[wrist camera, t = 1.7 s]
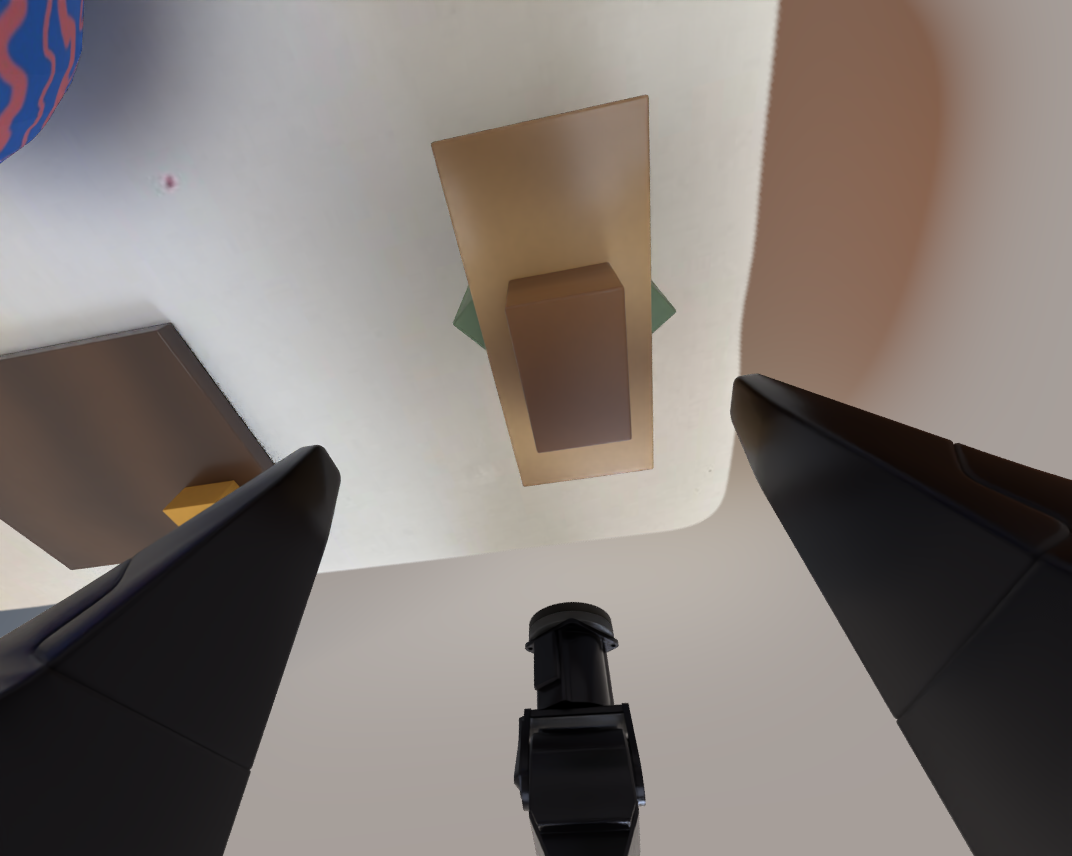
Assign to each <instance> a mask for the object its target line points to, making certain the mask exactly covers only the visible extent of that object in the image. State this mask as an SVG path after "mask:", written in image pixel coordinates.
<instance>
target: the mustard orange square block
mask: <svg viewBox="0 0 1072 856" xmlns="http://www.w3.org/2000/svg"><path fill="white" fill-rule="evenodd" d="M237 488H239V486H238V484H237V483H236V482H235V481H234V480H232V481H226V482H219V483H212V484H206V485H199V486H192V487H185V488H184V489H183V490H182V491H181V492H180V493H179V494H178V495H177V496H176V497H175V498H174V499H173V500H172V501H171V502H170V503H169V504H168V505H167V506H166V507H165V508H164V509H163V512H164V513H165V514H166V515H167V516H168V517H169V518H171V519H172V520H173V521H174V522H175V523H176V524H177V525H178V526H180V525H182V524H183V523H185V522H186V521H188V520H189V519H191V518H193V517H194V516H196V515H197V514H199V513H200V512H202V511H203V510H205V509H206V508H208V507H210V506H211V505H213V504H214V503H216V502H217V501H219V500H220V499H222V498H224V497H225V496H227V495H228V494H230V493H231V492H233V491H234V490H236V489H237Z"/></svg>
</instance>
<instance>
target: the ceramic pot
mask: <svg viewBox="0 0 1072 856" xmlns="http://www.w3.org/2000/svg"><path fill="white" fill-rule="evenodd" d="M83 16H84V0H0V163H1V162H3V161H4V160H6V159H7V158H8V157H10V156H11V155H12V154H14V153H15V152H16V151H18V150H19V149H20V148H22V147H23V146H24V145H26V144H27V143H29V142H30V141H31V140H32V139H33V138H34V137H35V136H36V135H37V134H38V133H39V132H40V131H41V130H42V128H43V127H44V126H45V124H46V123H47V122H48V120H49V119H50V117H51V115H52V114H53V112H54V110H55V109H56V107H57V105H58V104H59V102H60V100H61V99H62V97H63V95H64V94H65V92H66V91H67V90H68V87H69V85H70V84H71V82H72V80H73V77H74V74H75V70H76V67H77V64H78V61H79V57H80V54H81V51H82V37H83Z"/></svg>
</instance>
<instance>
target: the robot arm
mask: <svg viewBox="0 0 1072 856" xmlns="http://www.w3.org/2000/svg"><path fill="white" fill-rule="evenodd" d="M730 415H731V420H732V423H733V425H734V428H735V430H736V432H737V435H738V437H739V439H740V442H741V444H742V447H743V449H744V451H745V454H746V456H747V459H748V461H749V463H750V466H751V468H752V470H753V473H754V475H755V477H756V479H757V481H758V483H759V485H760V487H761V489H762V491H763V492H764V494H765V496H766V497H767V499H768V501H769V503H770V504H771V506H772V508H773V510H774V511H775V513H776V515H777V516H778V518H779V520H780V522H781V523H782V525H783V527H784V529H785V530H786V532H787V534H788V535H789V537H790V539H791V541H792V542H793V544H794V546H795V548H796V549H797V551H798V553H799V554H800V556H801V558H802V560H803V561H804V563H805V565H806V566H807V568H808V570H809V572H810V573H811V575H812V577H813V578H814V580H815V582H816V584H817V585H818V587H819V589H820V591H821V592H822V594H823V596H824V597H825V599H826V601H827V603H828V604H829V606H830V608H831V609H832V611H833V613H834V615H835V616H836V618H837V620H838V622H839V623H840V625H841V627H842V629H843V630H844V632H845V634H846V635H847V637H848V639H849V641H850V642H851V644H852V646H853V647H854V649H855V651H856V653H857V654H858V656H859V658H860V660H861V661H862V663H863V665H864V667H865V668H866V670H867V672H868V673H869V675H870V677H871V679H872V680H873V682H874V684H875V686H876V687H877V689H878V691H879V692H880V694H881V696H882V698H883V699H884V701H885V703H886V704H887V706H888V708H889V709H890V711H891V713H892V715H893V716H894V717H895V718H896V719H897V724H898V726H899V728H900V729H901V731H902V733H903V734H904V736H905V738H906V740H907V741H908V743H909V745H910V747H911V748H912V750H913V752H914V753H915V755H916V757H917V758H918V760H919V762H920V764H921V766H922V767H923V769H924V771H925V772H926V774H927V776H928V778H929V779H930V781H931V783H932V785H933V786H934V788H935V790H936V791H937V793H938V795H939V796H940V798H941V800H942V802H943V804H944V805H945V807H946V808H947V810H948V812H949V814H950V815H951V817H952V819H953V821H954V822H955V824H956V826H957V828H958V829H959V831H960V833H961V834H962V836H963V838H964V840H965V841H966V843H967V845H968V847H969V848H970V850H971V852H972V853H973V855H974V856H1072V480H1070V479H1066V478H1063V477H1060V476H1057V475H1053V474H1050V473H1047V472H1044V471H1040V470H1037V469H1034V468H1031V467H1028V466H1025V465H1022V464H1019V463H1016V462H1013V461H1010V460H1006V459H1004V458H1001V457H998V456H995V455H991V454H988V453H986V452H982V451H980V450H977V449H974V448H971V447H968V446H966V445H963V444H960V443H955V444H953V442H952V441H951V440H948V439H945V438H942V437H939V436H937V435H934V434H931V433H928V432H925V431H922V430H919V429H916V428H913V427H910V426H908V425H905V424H902V423H899V422H896V421H893V420H890V419H887V418H885V417H882V416H879V415H876V414H873V413H870V412H867V411H864V410H861V409H858V408H856V407H853V406H850V405H847V404H844V403H841V402H838V401H835V400H833V399H830V398H827V397H824V396H821V395H818V394H815V393H812V392H810V391H807V390H804V389H801V388H798V387H795V386H792V385H789V384H786V383H784V382H781V381H778V380H775V379H772V378H769V377H766V376H763V375H760V374H750V375H744V376H739V377H737V378H736V379H735V381H734V383H733V391H732V400H731V409H730ZM340 482H341V477H340V473H339V470H338V469H337V467H336V465H335V464H334V462H333V461H332V459H331V457H330V456H329V454H328V453H327V451H326V450H325V448H324V447H322V446H320V445H313V446H306V447H302V448H300V449H298V450H296V451H295V452H293V453H292V454H290V455H289V456H287V457H286V458H284V459H282V460H281V461H279V462H278V463H276V464H275V465H273V466H272V467H270V468H268V469H267V470H265V471H264V472H262V473H261V474H259V475H258V476H256V477H255V478H253V479H251V480H250V481H248V482H247V483H245V484H244V485H242V486H241V487H239V488H237V489H236V490H234V491H233V492H231V493H230V494H228V495H227V496H225V497H224V498H222V499H220V500H219V501H217V502H216V503H214V504H213V505H211V506H210V507H208V508H206V509H205V510H203V511H202V512H200V513H199V514H197V515H196V516H194V517H193V518H191V519H189V520H188V521H186V522H185V523H183V524H182V525H180V526H179V527H177V528H175V529H174V530H172V531H171V532H169V533H168V534H166V535H165V536H163V537H162V538H160V539H158V540H157V541H155V542H154V543H152V544H151V545H149V546H148V547H146V548H144V549H143V550H141V551H140V552H138V553H137V554H135V555H134V556H133V558H129V559H127V560H126V561H124V562H123V563H121V564H120V565H118V566H116V567H115V568H113V569H112V570H110V571H109V572H107V573H106V574H104V575H102V576H101V577H99V578H98V579H96V580H94V581H93V582H91V583H90V584H88V585H87V586H85V587H83V588H82V589H80V590H79V591H77V592H75V593H74V594H72V595H71V596H69V597H67V598H66V599H64V600H62V601H61V602H59V603H58V604H56V605H54V606H53V607H51V608H49V609H48V610H46V611H45V612H43V613H41V614H40V615H38V616H36V617H35V618H33V619H31V620H30V621H28V622H26V623H25V624H23V625H21V626H20V627H18V628H16V629H15V630H13V631H11V632H10V633H8V634H6V635H5V636H3V637H1V638H0V856H223V854H224V850H225V848H226V845H227V841H228V838H229V836H230V833H231V830H232V826H233V824H234V821H235V817H236V815H237V811H238V809H239V806H240V802H241V800H242V797H243V793H244V790H245V788H246V785H247V782H248V778H249V776H250V769H251V768H252V766H253V763H254V759H255V757H256V753H257V751H258V748H259V744H260V742H261V739H262V736H263V732H264V730H265V727H266V723H267V721H268V718H269V714H270V712H271V709H272V706H273V703H274V700H275V697H276V694H277V691H278V688H279V685H280V682H281V679H282V676H283V673H284V670H285V667H286V664H287V661H288V658H289V655H290V652H291V649H292V646H293V643H294V640H295V637H296V634H297V631H298V628H299V625H300V622H301V619H302V616H303V613H304V610H305V607H306V604H307V600H308V598H309V595H310V592H311V589H312V586H313V582H314V580H315V577H316V574H317V571H318V568H319V565H320V562H321V559H322V556H323V553H324V550H325V547H326V544H327V540H328V536H329V532H330V528H331V523H332V519H333V514H334V510H335V505H336V500H337V496H338V491H339V487H340ZM617 647H618V640H617V639H615V638H613V637H611V636H609V635H607V634H605V633H603V632H601V631H599V630H597V629H595V628H593V627H591V626H589V625H587V624H585V623H583V622H581V621H579V620H577V619H574V618H569V619H567V620H565V621H563V622H562V623H560V624H558V625H556V626H555V627H553V628H551V629H550V630H548V631H546V632H544V633H543V634H541V635H539V636H537V637H536V638H534V639H532V640H531V641H529V642H527V643H526V644H525V649H526V650H527V651H529V652H531V653H534V688H535V690H537V709H535V710H531V709H524V716H522V717H521V718H519V741H518V751H517V757H516V765H515V772H514V784H515V785H516V786H517V788H518V789H519V790H520V795H521V799H522V804H523V809H524V811H529V818H530V823H531V828H532V833H533V839H534V844H535V849H536V854H537V856H640V833H639V808H638V806H645V791H644V783H643V776H642V769H641V763H640V758H639V753H638V749H637V743H636V739H635V734H634V729H633V724H632V719H631V714H630V710H629V704H628V703H622V705H614V700H613V693H612V687H611V680H610V673H609V666H608V659H607V652H609V651H611V650H613V649H615V648H617Z"/></svg>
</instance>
